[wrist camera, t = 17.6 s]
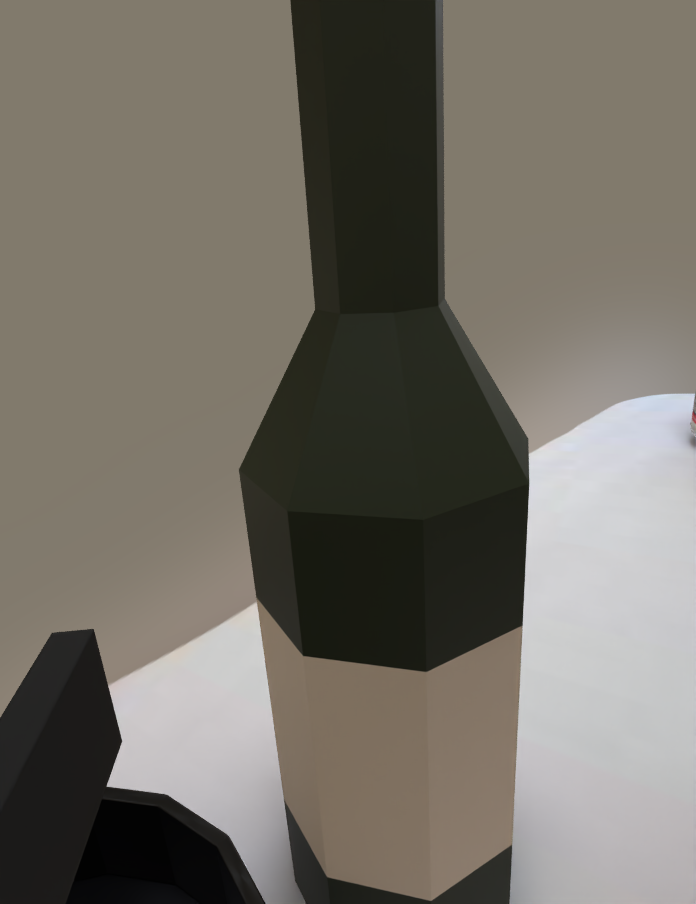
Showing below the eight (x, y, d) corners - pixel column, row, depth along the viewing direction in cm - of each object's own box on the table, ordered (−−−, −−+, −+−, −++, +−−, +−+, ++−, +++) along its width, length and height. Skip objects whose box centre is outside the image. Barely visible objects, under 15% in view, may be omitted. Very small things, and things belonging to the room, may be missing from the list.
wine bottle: (248, 888, 23) (64, -150, 12) (377, 740, 29) (331, -36, 18) (448, 1058, 18) (437, -443, 7) (552, 835, 24) (631, -153, 13)
